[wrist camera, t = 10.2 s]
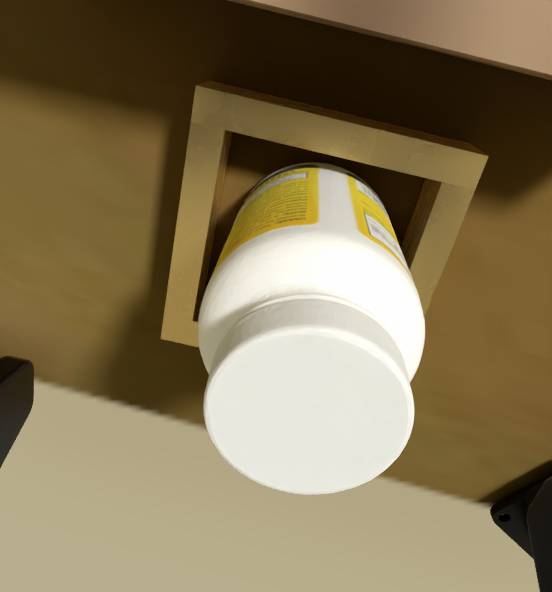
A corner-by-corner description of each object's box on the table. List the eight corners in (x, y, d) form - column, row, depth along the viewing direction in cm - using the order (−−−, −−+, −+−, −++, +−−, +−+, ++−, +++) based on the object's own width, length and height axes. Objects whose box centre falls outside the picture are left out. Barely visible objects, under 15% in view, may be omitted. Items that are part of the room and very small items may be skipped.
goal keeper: (470, 143, 17) (488, 156, 15) (387, 360, 20) (394, 391, 19) (209, 80, 16) (195, 85, 15) (174, 312, 20) (160, 338, 18)
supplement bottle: (221, 283, 20) (141, 483, 11) (257, 139, 17) (192, 247, 8) (359, 321, 20) (391, 547, 11) (414, 185, 17) (510, 336, 9)
